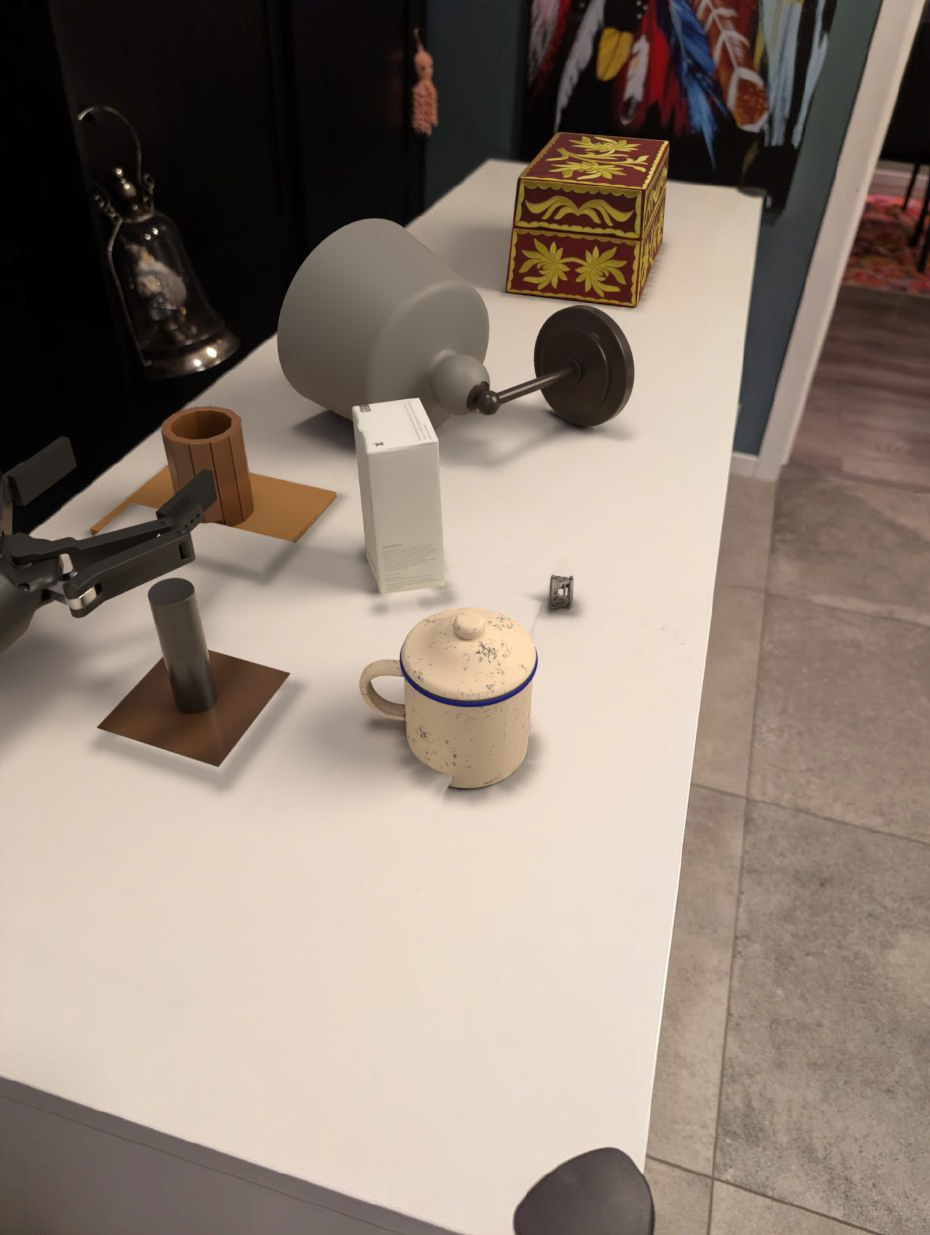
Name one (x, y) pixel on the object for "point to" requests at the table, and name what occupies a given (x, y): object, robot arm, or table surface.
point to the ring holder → (192, 686)
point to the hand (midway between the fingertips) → (138, 467)
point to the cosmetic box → (400, 494)
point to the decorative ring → (563, 583)
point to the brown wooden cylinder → (211, 459)
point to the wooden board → (275, 505)
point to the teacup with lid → (463, 693)
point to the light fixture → (430, 336)
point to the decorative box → (589, 219)
